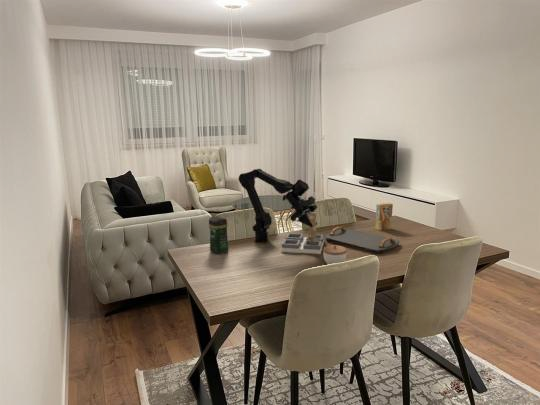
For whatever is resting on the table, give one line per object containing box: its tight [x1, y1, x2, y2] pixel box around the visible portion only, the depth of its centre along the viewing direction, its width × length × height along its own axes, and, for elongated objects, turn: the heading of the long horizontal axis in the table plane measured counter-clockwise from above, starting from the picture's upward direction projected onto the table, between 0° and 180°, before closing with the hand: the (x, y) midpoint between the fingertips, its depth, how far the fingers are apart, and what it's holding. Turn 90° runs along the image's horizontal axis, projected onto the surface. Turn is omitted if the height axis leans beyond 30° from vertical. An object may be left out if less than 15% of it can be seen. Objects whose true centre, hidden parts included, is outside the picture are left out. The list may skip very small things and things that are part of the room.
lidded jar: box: [322, 244, 347, 265], centre depth 193 cm, size 11×11×9 cm
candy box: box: [375, 202, 394, 231], centre depth 248 cm, size 9×4×15 cm, turn 111°
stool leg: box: [307, 211, 317, 241], centre depth 210 cm, size 4×4×14 cm
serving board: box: [324, 226, 400, 255], centre depth 224 cm, size 39×23×6 cm, turn 45°
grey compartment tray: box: [280, 232, 325, 255], centre depth 219 cm, size 20×20×4 cm
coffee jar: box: [208, 215, 229, 255], centre depth 211 cm, size 10×8×19 cm
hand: (314, 225), depth 209 cm, fingers closed on stool leg, 4 cm apart
